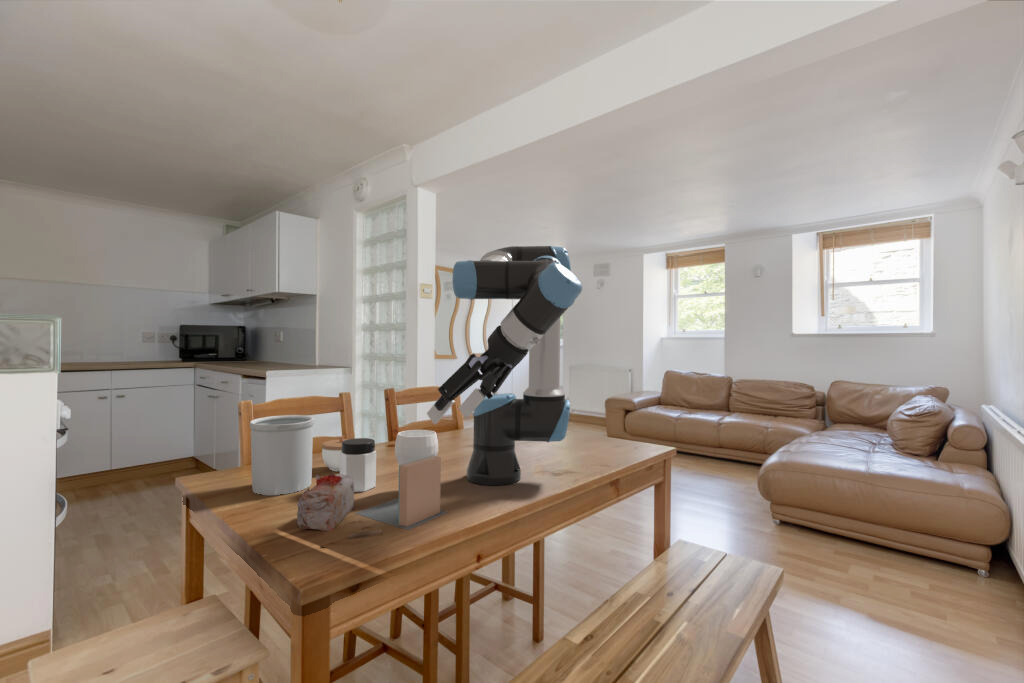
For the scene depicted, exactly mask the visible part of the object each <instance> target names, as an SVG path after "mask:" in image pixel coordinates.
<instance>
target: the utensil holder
mask: <svg viewBox="0 0 1024 683" xmlns="http://www.w3.org/2000/svg"><path fill="white" fill-rule="evenodd" d="M314 424H315V418H314V417H313V416H311V415H304V414H303V415H301V414H300V415H299V414H285V415H273V416H271V415H270V416H265V417H259V418H255V419H252V420H250V421H249V428H250V449H251V450H250V451H251V453H250V455H251V459H250V460H251V487H252V492H253V493H254V494H256V493H257V494H256V495H259V494H262V495H261V496H281V495H280V494H284V495H289V493H290V494H294V492H295V493H298V492H301V491H305V489H306V490H307V489H308V488H310V487H311V485H312V476H313V474H312V471H313V443H314V442H313V439H314V437H313V436H314ZM297 491H298V492H297Z"/></svg>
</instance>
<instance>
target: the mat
mask: <svg viewBox="0 0 1024 683" xmlns="http://www.w3.org/2000/svg"><path fill="white" fill-rule="evenodd" d="M447 513H448V514H449V512H448V511H445V510H443V509H442V510H441V509H440V513H437V514H435V515H433V516H430V517H428V518H426V519H423V520H421V521H419V522H416V523H414V524H412V525H410V526H407V527H406V526H402V525H399V524H398V498H393V499H391V500H389V501H385V502H383V503H379V504H377V505H374V506H371V507H369V508H366V509H363V510H360V511H357V512H355V513H354V514H356V515H357V516H361V517H364V518H368V519H371V520H375V521H377V522H380V523H384V524H387V525H390V526H393V527H397V528H400V529H403V530H406V531H410V530H412V529H414V528H416V527H418V526H421V525H423V524H425V523H427V522H429V521H431V520H434V519H437V518H438V517H441V516H443V515H445V514H447Z"/></svg>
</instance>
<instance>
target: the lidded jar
mask: <svg viewBox="0 0 1024 683" xmlns="http://www.w3.org/2000/svg"><path fill="white" fill-rule="evenodd" d="M348 439H349V438H344V436H339V439H331V440H327V441H323V442H322V443H321V456H322V460H323V463H324V465H325V466H326V467H327V468H329V471H331V470H332V471H331V472H340V452H341V451H342V442H343V441H345V440H348Z"/></svg>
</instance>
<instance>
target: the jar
mask: <svg viewBox="0 0 1024 683" xmlns="http://www.w3.org/2000/svg"><path fill="white" fill-rule="evenodd" d="M347 439H348V440H345V441H343V442H342V451H341V452H340V471H339V474H342V475H347V476H350V477H351V478H353V482H354V493H362V492H363V493H364V492H367V491H369V490H371V489H374V488H375V487H376V486H377V450H375V449H376V440H375V439H373V438H367V437H361V438H357V437H356V438H347Z"/></svg>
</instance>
